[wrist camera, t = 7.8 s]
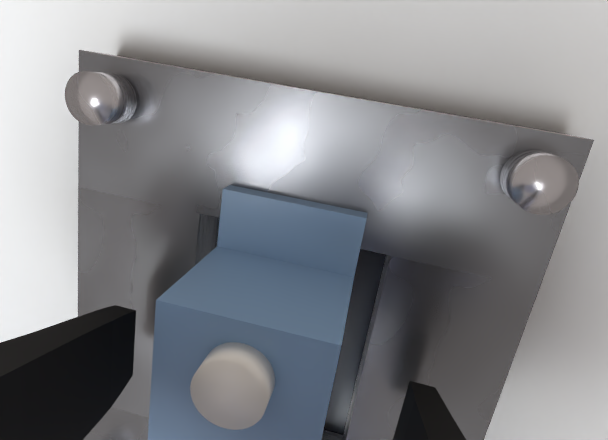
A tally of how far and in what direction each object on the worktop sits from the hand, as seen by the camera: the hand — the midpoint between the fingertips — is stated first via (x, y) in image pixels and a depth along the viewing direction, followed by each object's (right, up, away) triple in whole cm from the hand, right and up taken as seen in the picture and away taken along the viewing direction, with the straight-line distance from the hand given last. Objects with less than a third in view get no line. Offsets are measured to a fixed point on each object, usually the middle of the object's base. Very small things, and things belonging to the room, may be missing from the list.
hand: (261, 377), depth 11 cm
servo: (+1, +1, +2) cm, 3 cm away
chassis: (+1, +1, +2) cm, 3 cm away
